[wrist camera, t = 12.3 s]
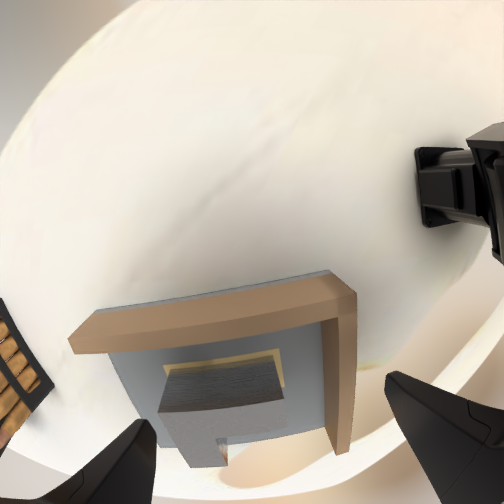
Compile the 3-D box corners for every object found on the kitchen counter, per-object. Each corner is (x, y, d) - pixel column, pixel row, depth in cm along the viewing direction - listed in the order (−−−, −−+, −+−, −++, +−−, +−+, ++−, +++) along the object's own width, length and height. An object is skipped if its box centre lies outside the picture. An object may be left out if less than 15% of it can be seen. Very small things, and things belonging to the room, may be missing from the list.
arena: (328, 269, 19) (356, 293, 14) (333, 418, 23) (348, 451, 18) (96, 309, 19) (67, 338, 14) (161, 442, 22) (154, 476, 17)
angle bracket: (282, 414, 21) (292, 456, 16) (194, 426, 21) (190, 467, 16) (272, 354, 19) (284, 398, 14) (170, 369, 19) (157, 412, 14)
